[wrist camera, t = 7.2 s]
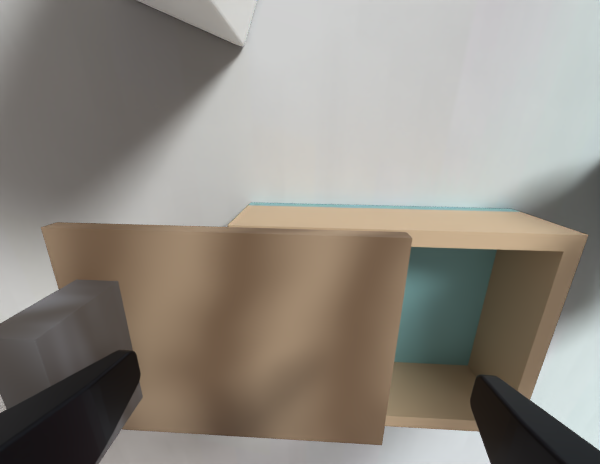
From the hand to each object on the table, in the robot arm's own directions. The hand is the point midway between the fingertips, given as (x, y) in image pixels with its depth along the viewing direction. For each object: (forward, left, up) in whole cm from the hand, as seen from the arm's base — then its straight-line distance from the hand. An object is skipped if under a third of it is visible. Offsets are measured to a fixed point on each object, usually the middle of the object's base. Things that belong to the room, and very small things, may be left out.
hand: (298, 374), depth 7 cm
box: (-4, +4, -11) cm, 13 cm away
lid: (+4, +4, -6) cm, 8 cm away
